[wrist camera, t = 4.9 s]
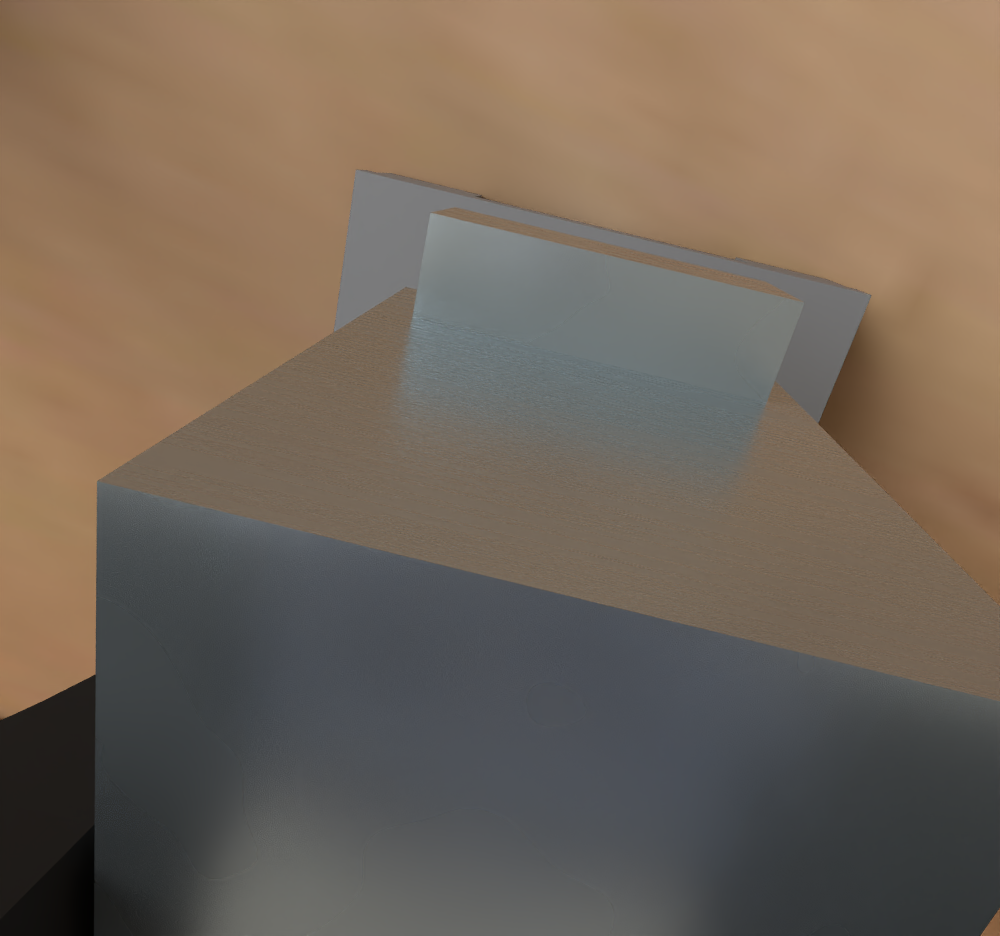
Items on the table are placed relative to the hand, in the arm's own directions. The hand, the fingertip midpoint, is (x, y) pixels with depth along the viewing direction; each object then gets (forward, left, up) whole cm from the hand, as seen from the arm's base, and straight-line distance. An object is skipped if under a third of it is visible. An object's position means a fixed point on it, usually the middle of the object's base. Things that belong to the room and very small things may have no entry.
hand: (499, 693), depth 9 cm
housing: (0, 0, -2) cm, 2 cm away
